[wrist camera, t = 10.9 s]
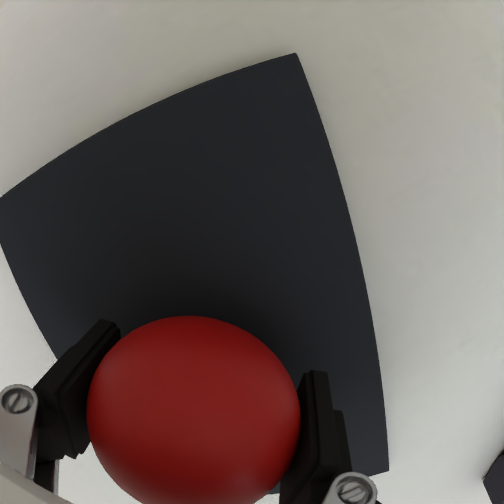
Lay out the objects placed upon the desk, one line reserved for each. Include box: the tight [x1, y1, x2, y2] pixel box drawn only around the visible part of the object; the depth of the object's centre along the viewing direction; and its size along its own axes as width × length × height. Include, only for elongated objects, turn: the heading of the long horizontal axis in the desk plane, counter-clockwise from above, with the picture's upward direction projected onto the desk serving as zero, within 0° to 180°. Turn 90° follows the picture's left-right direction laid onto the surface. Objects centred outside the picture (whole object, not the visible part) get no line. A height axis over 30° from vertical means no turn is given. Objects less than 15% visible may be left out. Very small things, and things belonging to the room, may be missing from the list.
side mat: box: [0, 53, 389, 495], centre depth 12 cm, size 20×14×1 cm
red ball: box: [86, 316, 301, 504], centre depth 9 cm, size 6×6×6 cm
